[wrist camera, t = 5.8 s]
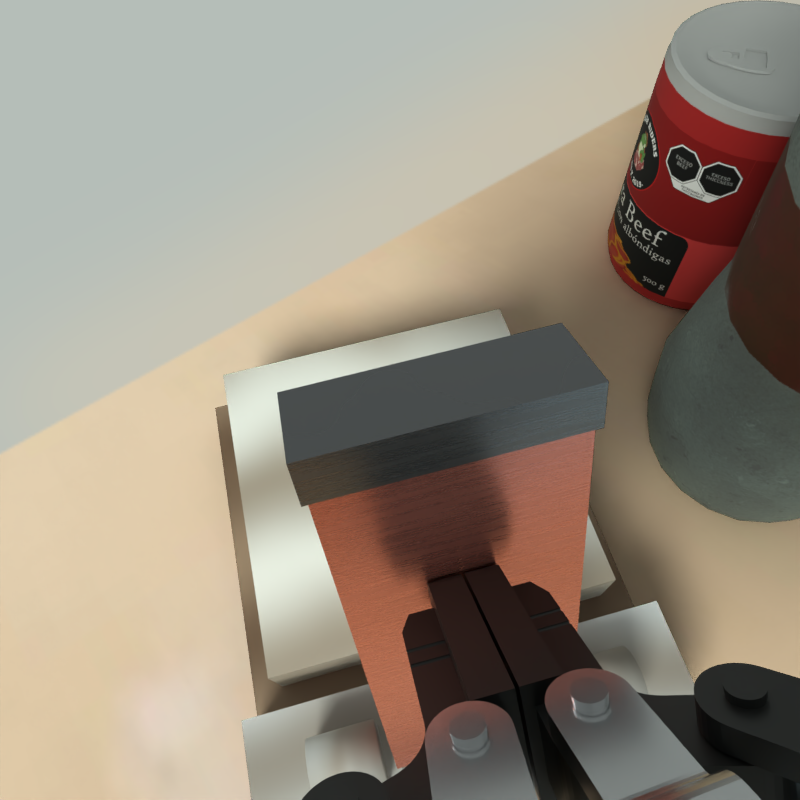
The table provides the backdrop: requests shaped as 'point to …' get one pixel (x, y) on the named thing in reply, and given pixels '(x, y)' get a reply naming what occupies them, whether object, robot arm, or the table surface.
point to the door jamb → (318, 598)
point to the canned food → (707, 148)
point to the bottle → (740, 370)
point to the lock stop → (445, 487)
